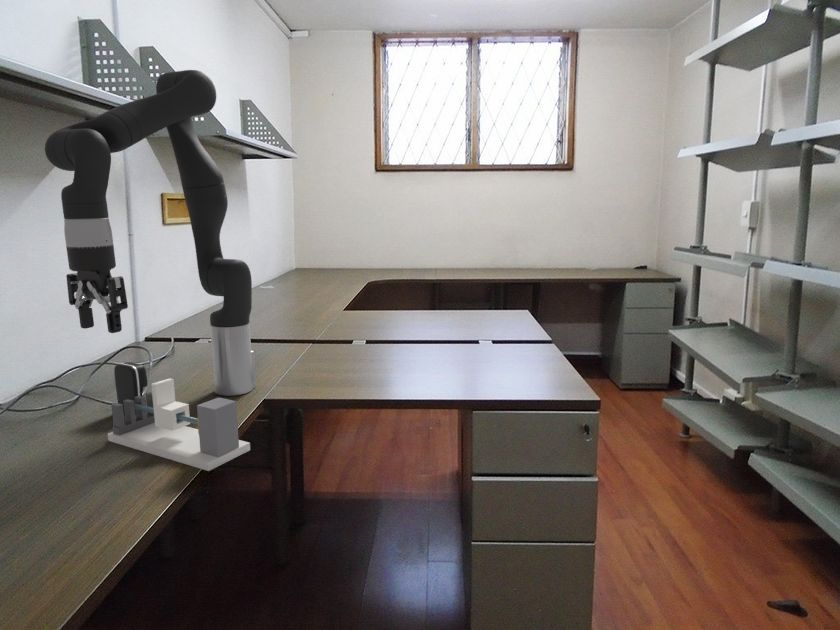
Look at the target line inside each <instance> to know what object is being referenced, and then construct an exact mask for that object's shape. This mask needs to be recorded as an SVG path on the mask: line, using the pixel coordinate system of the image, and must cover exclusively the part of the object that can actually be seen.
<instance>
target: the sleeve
mask: <svg viewBox="0 0 840 630" xmlns="http://www.w3.org/2000/svg"><path fill="white" fill-rule="evenodd" d="M174 381H175V380H174V378H166V379H162V380H160V381H155V382H152V383H151V393H152V396H153V407H154V418H155V426H157V427H160V428H164V429H168V430H172V431H174V430H176V429H179V428H181V427H184V426H188V425H190V424H191V423H190V422H186V421H182V420H178V419H176V414H180V415H185V416H189V417H191V416H190V404H189V403H185V402H180V401H176V394H175V393H176V392H175V382H174Z"/></svg>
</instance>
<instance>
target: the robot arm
mask: <svg viewBox="0 0 840 630" xmlns="http://www.w3.org/2000/svg"><path fill="white" fill-rule="evenodd" d="M155 90H156V91H155V92H156V94H153V95H150V96H146V97H143V98H140V99H136V100H133V101H129V102H125V103H123V104H120V105H118V106H116V107H114V108H111V109H110V110H107V111H105V112H103V113H101V114H100V115H98V116H96V117H94V118H91V119H87V120H84V121H81V122H78V123H73V124H70V125H68V126H65V127H63V128H59V129H57V130H56V131H54V132H52V134H50V135H49V136H48V137H47V139H46V141H45V145H44V153H45V156H46V158H47V160H48V161H49V163H50V164H52V166H54V167H55V168H57V169H59V170H63V171H67V172H73V180H72V183H71V184H68V185H66V186H64V187H63V188H62V189H61V194H60V197H61V204H62V212H63V213H62V214H63V220H64V221H63V223H64V224H63V225H64V228H63V231H64V241H65V248H66V253H67V254H66V255H67V262H68V268H69V270H70V271H72V272H73V273H67V274H66V285H67V286H66V287H67V294H68V295H67V296H68V303H69V305H70V306H74V307H75V309H76V310H77V311H78V317H79V324H80V328H81V329H85V330H86V329H89V328H94V326H95V322H94V315H93V308H92V304H93V301H94V300H96V301H97V303H98V304H100V305H101V306H102V307H103V309H104V311H105V316H106V326H107V331H108V333H111V334H115V333H119V332H121V331H122V319H121V312H122V311H123V310H127V309H128V307H129V306H128V305H129V304H128V300H127V292H126V286H125V280H124V277H123V276H122V275H121V276H113V277H112V274H111V270H113V269H115V267H117V263H116V262H117V261H116V255H115V246H114V239H113V237H114V236H113V231H112V227H111V224H110V223H111V222H110V219H109V211H108V202H107V191H108V190H107V189H108V186H109V179H110V173H111V167H112V155H111V154H116V153H120V152H123V151H124V150H127V149H128V148H130V147H132V146H134V145H135V144H137V143H139V142H141V141H143V140H144V139H146V138H148V137H150V136H152V135H153V134H156V133H158V132H159V131H161V130H163V129H165V128H166V129H167V133H168V136H169V139H170V142H171V146H172V149H173V153H174V157H175V161H176V165H177V170H178V173H179V176H180V177H179V178H180V182H181V187H182V192H183V196H184V200H185V201H184V202H185V204H186V208H187V213H188V215H189V216H188V217H189V220H190V226H191V230H192V231H191V232H192V235H193V241H194V248H195V256H196V263H197V272H198V277H199V282H200V285H201V287H202V289H203V290H204V292H205V293H207V294H208V295H211V296H215V297H223V303H222V307H221V308H220V309H217V310H215V311H213V312H211V314H210V315H209V323H210V324H209V325H210V336H211V337H210V339H211V351H212V352H211V353H212V367H213V368H212V369H213V381H214V383H213V384H214V393H215V394H217V395H219V396H228V397H230V396H231V397H232V396H238V395H243V394H248V393H250V392H251V391H252V390H253V389H254V388H256V387H257V382H256V381H257V379H256V364H255V362H256V361H255V352H254V350H252V346H251V345H252V344H251V328H250V327H251V325H250V316H251V312H252V307H253V305H252V300H253V299H252V297H253V296H252V293H253V291H252V289H253V288H252V287H253V285H252V283H253V281H252V273H251V269H250V267H249V265H248V264H247V263H246V262H245V261H244V260H242V259H235V258H234V259H232V258H224V256H223V251H222V247H221V238H220V237H221V236H220V235H221V230H222V227H223V224H224V222H225V217H226V215H227V210H228V206H229V205H228V204H229V203H228V201H229V200H228V196H227V190H226V185H225V181H224V177H223V174H222V171H221V170H220V168H219V167H218V165H217V164H216V162H215V161H214V159H213V158H212V157H211V156H210V154H209V153H208V152H207V151H206V149H205V148H204V146H203V145H202V143H201V142H200V140H199V138H198V134H197V133H196V129H195V126H194V121H193V118H194V117H197V116H202V115H205V114H208V113H210V111H212V110H213V108H214V107H215V104H216V101H217V90H216V86H215V84H214V82H213V80H212V79H211V78H210V76H209V75H207V73H205V72H203V71H201V70H197V69H185V70H178V71H177V70H176V71H170V72H164V73H162V74H160V75H159V77H158V78H157V81H156V85H155ZM119 298H120V299H119ZM118 299H119V300H120V301H119V300H118Z"/></svg>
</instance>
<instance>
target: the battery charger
mask: <svg viewBox="0 0 840 630" xmlns="http://www.w3.org/2000/svg"><path fill="white" fill-rule="evenodd" d="M113 374H114V382H115V390H116V391H115V392H116V397H117V403H119V404H122V405H123V413H124V404H123V401H124V400H127V399H129V400H133V401H134V403H135V397H136V396H142V397H143V391H144V388H147V387H148V376H147V370H146V367H145V366H144V365H143V364H141V363H136V362H130V361H127V362H122V363H118V364H117V365H115V366H114V373H113ZM135 414H136V409H135Z"/></svg>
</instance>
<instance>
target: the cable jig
mask: <svg viewBox="0 0 840 630" xmlns="http://www.w3.org/2000/svg"><path fill="white" fill-rule="evenodd" d="M123 404H124V413H123V405H122V404H119V403H118V402H115V403H111V405H110V406H111V413H112V415H111V416H112V421H113V423H112V424H113V426H112V431H111V432H108V433H107V439H108V440H107V441H108V442H111V443H114V444H118V445H121V446H125V447H126V448H127V447H128V448H131V449H134V450H138V451H141V452H145V453H148V454H150V455H154V456H157V457H161V458H163V459H164V458H165V459H168V460H170V461H173V462H178V463H180V464H183V465H188V466H190V467H192V468H193V467H194V468H196V469H200V470H203V471H207V472H210V471H213V470H214V469H216V468H217V467H219V466H221V465H223V464H226V463H228V462H229V461H231V460H233V459H235V458H237V457H239V456H241V455H244V454H246V453H247V452H249V451H251V442H248V441H245V440H241V439H239V424H238V407H237V401H236V400H232V399H228V398H222V397H216V398H214V399H211V400H208V401H205V402H202V403H200V404H197V405H196V409H197V410H196V411H197V413H196V414H197V417H192V416H190V417H189V416H185V415H180V414H176V419H178V420H182V421H186V422H190V424H195V425H197V428H194V427H191V426H188V425H186V426H184V427H181V428H179V429H176V430H174V431H172V430H168V429H164V428H160V427H157V426H155V418H154V407H153V396H152V391H151V392H146V393H145V396H143V395H142V396H136V397H135V403H134V401H133V400H129V399H127V400H124V401H123ZM135 409H136V414H135Z"/></svg>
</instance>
